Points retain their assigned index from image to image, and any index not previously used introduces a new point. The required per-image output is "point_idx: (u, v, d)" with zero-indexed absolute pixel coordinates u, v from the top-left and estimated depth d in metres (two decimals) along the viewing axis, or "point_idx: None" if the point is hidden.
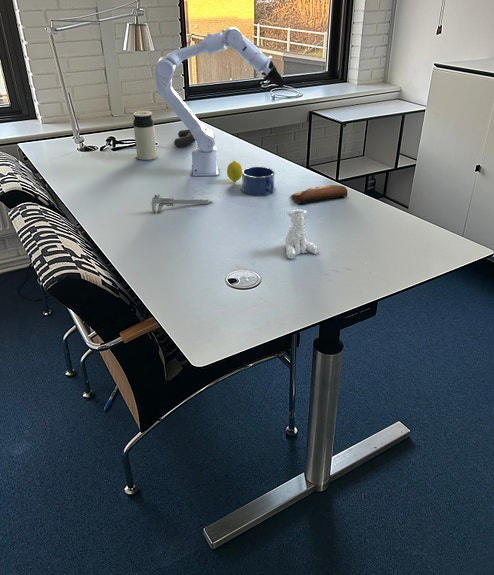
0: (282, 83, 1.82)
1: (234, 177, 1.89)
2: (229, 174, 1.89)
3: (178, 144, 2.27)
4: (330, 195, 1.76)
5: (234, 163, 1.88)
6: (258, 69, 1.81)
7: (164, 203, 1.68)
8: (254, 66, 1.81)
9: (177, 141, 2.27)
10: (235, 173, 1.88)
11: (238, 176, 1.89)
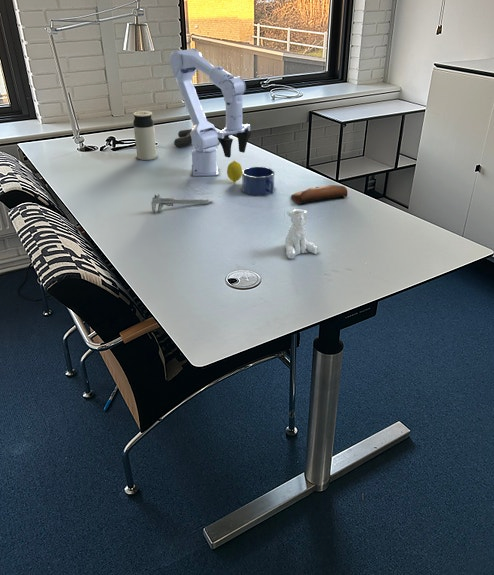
0: (227, 155, 1.84)
1: (234, 177, 1.89)
2: (229, 174, 1.89)
3: (178, 144, 2.27)
4: (330, 195, 1.76)
5: (234, 163, 1.88)
6: (226, 126, 1.82)
7: (164, 203, 1.68)
8: (226, 121, 1.81)
9: (177, 141, 2.27)
10: (235, 173, 1.88)
11: (238, 176, 1.89)
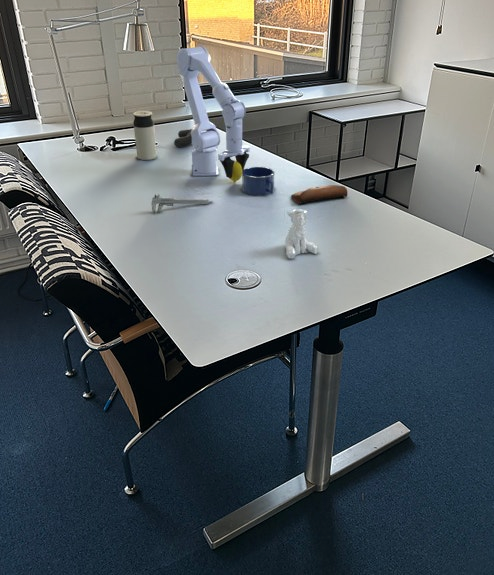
0: (228, 175, 1.89)
1: (234, 177, 1.89)
2: None
3: (178, 144, 2.27)
4: (330, 195, 1.76)
5: (234, 163, 1.88)
6: (226, 149, 1.86)
7: (164, 203, 1.68)
8: (226, 144, 1.85)
9: (177, 141, 2.27)
10: (235, 173, 1.88)
11: (238, 176, 1.89)
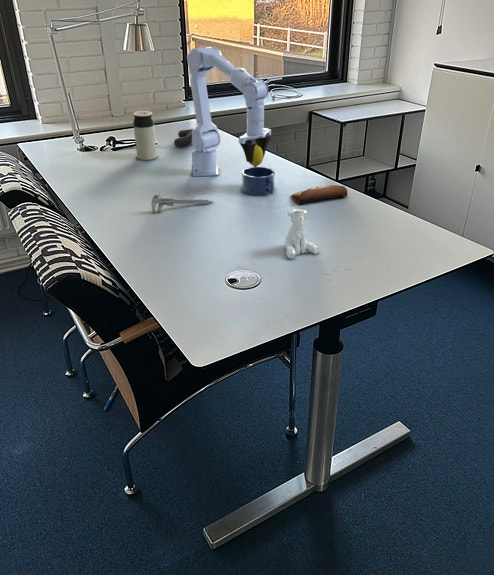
0: (249, 160, 1.79)
1: (255, 161, 1.79)
2: None
3: (178, 144, 2.27)
4: (330, 195, 1.76)
5: (255, 147, 1.78)
6: None
7: (164, 203, 1.68)
8: (247, 126, 1.76)
9: (177, 141, 2.27)
10: (256, 157, 1.79)
11: (259, 160, 1.80)
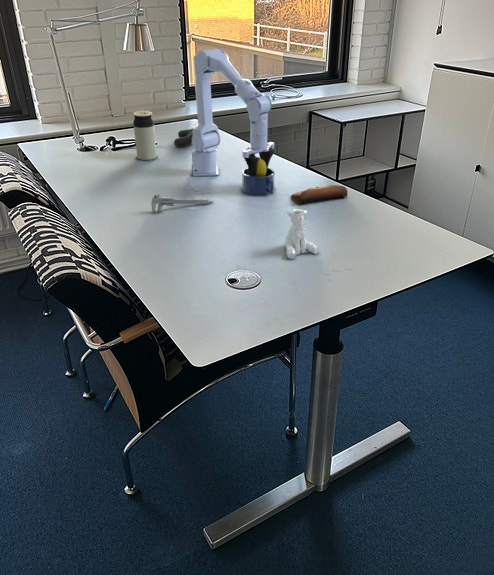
0: (252, 173, 1.81)
1: (258, 175, 1.81)
2: None
3: (178, 144, 2.27)
4: (330, 195, 1.76)
5: (258, 160, 1.80)
6: (250, 145, 1.78)
7: (164, 203, 1.68)
8: None
9: (177, 141, 2.27)
10: (259, 170, 1.80)
11: (262, 174, 1.81)
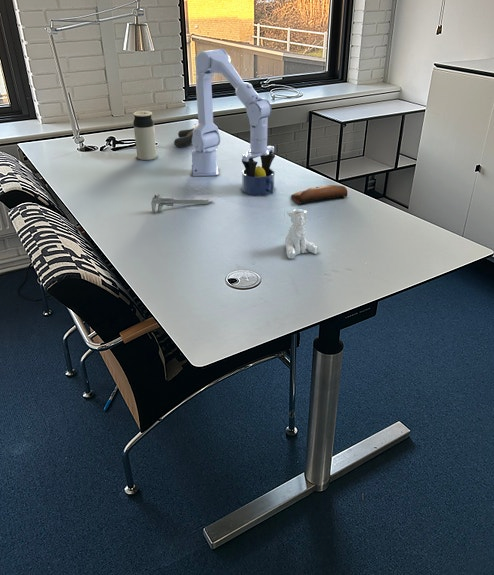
0: None
1: None
2: None
3: (178, 144, 2.27)
4: (330, 195, 1.76)
5: (258, 168, 1.81)
6: (250, 149, 1.79)
7: (164, 203, 1.68)
8: None
9: (177, 141, 2.27)
10: None
11: None
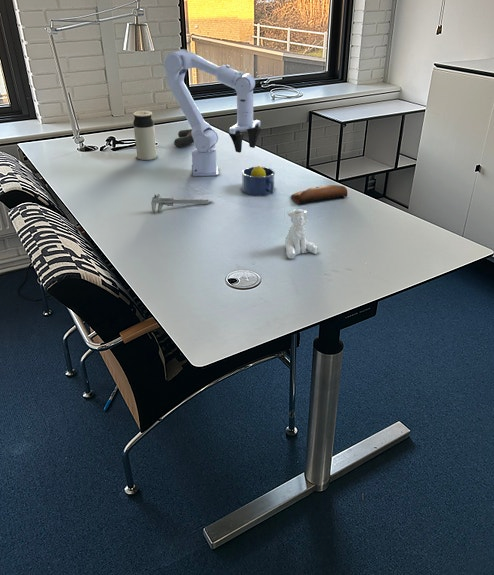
0: (238, 150, 1.89)
1: None
2: None
3: (178, 144, 2.27)
4: (330, 195, 1.76)
5: (258, 168, 1.81)
6: (237, 122, 1.87)
7: (164, 203, 1.68)
8: (237, 117, 1.86)
9: (177, 141, 2.27)
10: None
11: None
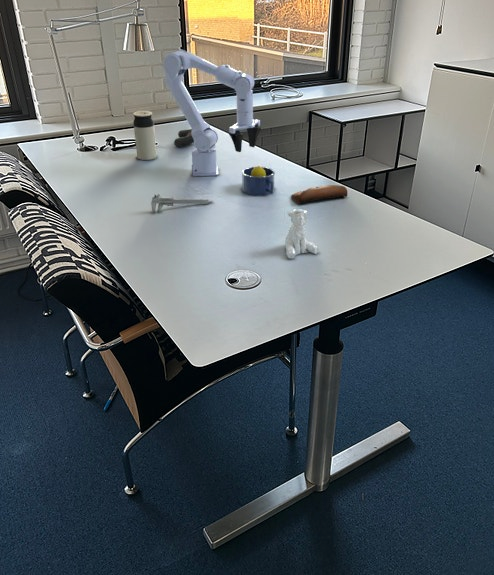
0: (237, 149, 1.89)
1: None
2: None
3: (178, 144, 2.27)
4: (330, 195, 1.76)
5: (258, 168, 1.81)
6: (237, 122, 1.87)
7: (164, 203, 1.68)
8: (237, 117, 1.87)
9: (177, 141, 2.27)
10: None
11: None
